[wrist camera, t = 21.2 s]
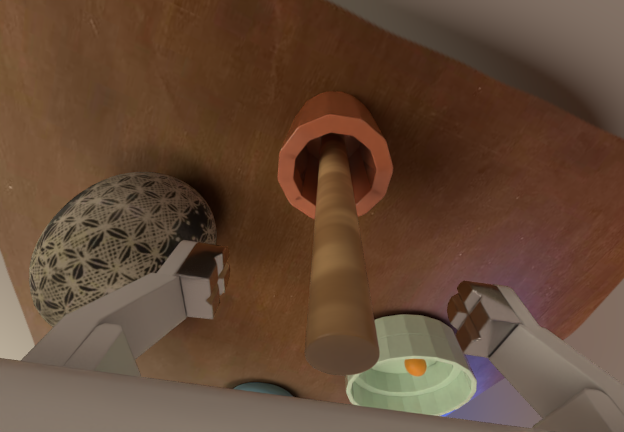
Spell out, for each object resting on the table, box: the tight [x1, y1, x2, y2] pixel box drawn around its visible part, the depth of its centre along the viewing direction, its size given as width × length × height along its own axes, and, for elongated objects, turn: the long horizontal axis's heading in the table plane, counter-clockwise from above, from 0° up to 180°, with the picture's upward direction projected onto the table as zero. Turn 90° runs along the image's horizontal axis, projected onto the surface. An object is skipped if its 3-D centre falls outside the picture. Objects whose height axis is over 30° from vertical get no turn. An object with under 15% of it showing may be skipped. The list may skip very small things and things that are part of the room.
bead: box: [404, 359, 427, 376], centre depth 39 cm, size 3×3×3 cm
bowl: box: [345, 314, 477, 416], centre depth 38 cm, size 16×16×6 cm
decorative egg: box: [29, 172, 217, 327], centre depth 23 cm, size 12×12×15 cm
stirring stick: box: [305, 133, 380, 376], centre depth 16 cm, size 2×2×20 cm
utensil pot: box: [278, 91, 393, 219], centre depth 21 cm, size 7×7×9 cm
